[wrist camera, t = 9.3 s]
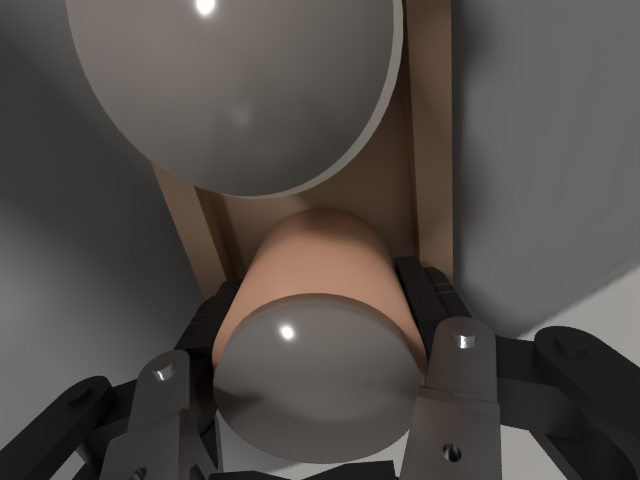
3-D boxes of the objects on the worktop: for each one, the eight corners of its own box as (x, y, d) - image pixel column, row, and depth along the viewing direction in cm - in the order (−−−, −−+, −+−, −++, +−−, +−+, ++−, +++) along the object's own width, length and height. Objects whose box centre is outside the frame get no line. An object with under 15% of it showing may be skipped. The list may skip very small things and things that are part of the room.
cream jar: (173, -16, 10) (-41, -166, 4) (358, -61, 9) (400, -308, 3) (227, 168, 12) (137, 231, 6) (378, 142, 11) (422, 185, 6)
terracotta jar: (239, 220, 12) (164, 320, 7) (385, 197, 12) (432, 286, 6) (273, 333, 14) (237, 477, 9) (396, 318, 14) (438, 462, 8)
